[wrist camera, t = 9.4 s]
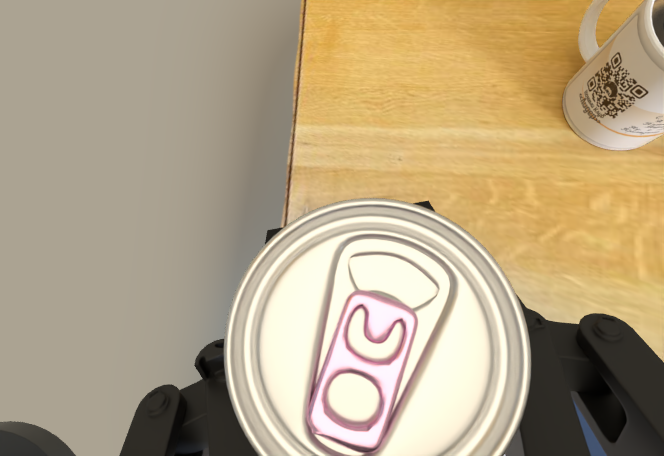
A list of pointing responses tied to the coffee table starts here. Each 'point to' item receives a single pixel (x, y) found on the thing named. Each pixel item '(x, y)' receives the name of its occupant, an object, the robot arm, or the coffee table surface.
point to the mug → (619, 80)
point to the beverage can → (376, 338)
